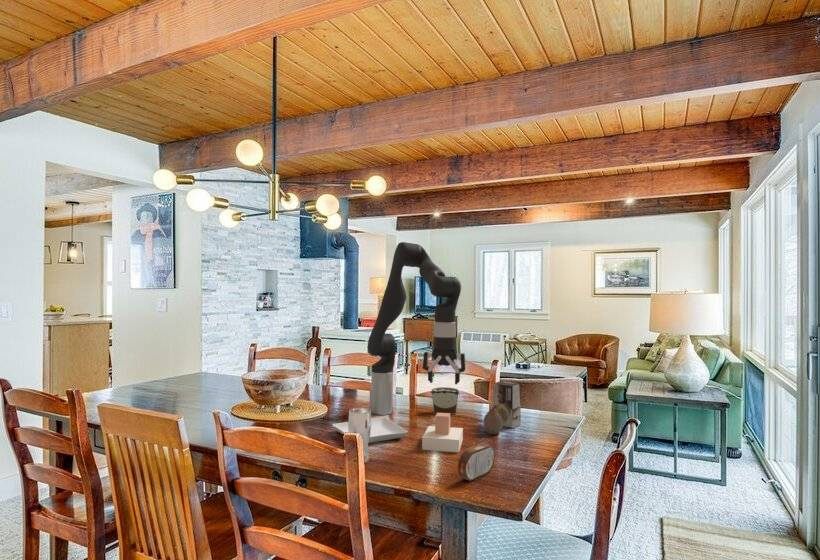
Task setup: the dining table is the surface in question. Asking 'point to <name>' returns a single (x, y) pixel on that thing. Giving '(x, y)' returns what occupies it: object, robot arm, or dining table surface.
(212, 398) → the dining table surface
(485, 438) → the dining table surface
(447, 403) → the food container
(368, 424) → the beer glass
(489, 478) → the dining table surface
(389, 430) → the salad plate
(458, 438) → the plinth
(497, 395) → the coffee box
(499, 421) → the vase
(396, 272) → the robot arm
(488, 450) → the tin
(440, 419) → the light pinkish-tan block
